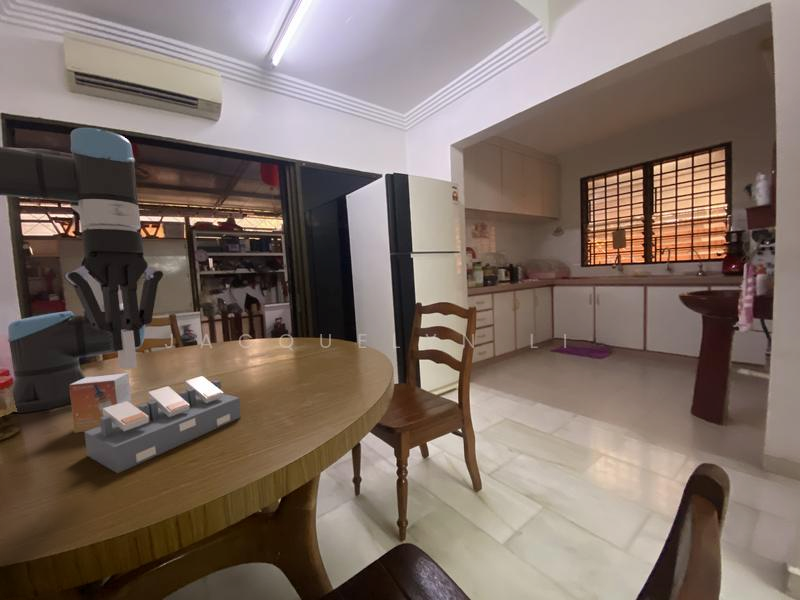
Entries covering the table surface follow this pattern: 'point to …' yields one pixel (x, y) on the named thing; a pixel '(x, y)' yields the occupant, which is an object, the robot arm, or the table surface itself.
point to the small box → (96, 398)
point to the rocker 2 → (168, 401)
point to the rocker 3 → (204, 389)
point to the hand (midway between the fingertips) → (128, 367)
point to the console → (158, 430)
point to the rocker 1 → (126, 415)
